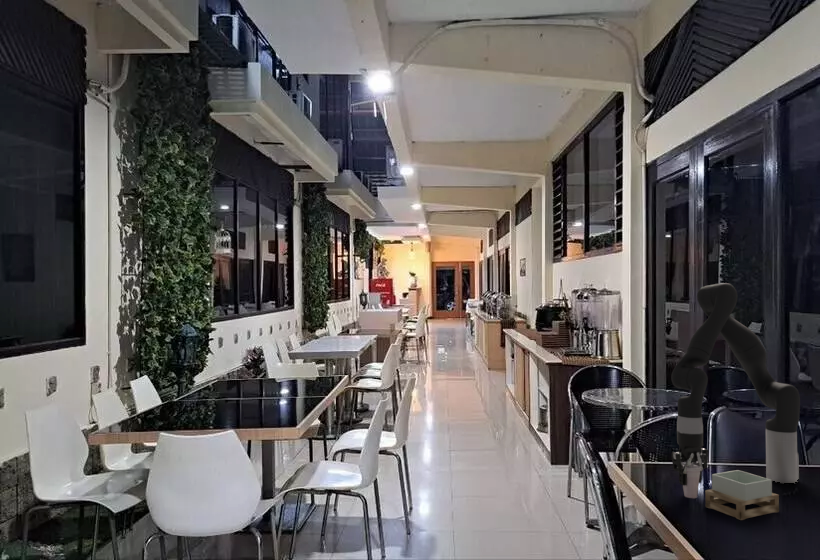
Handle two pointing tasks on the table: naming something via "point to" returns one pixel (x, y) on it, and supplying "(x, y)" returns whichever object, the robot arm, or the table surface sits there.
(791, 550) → the table surface
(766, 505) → the wooden pallet
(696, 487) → the smoothie
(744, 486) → the grey crate
